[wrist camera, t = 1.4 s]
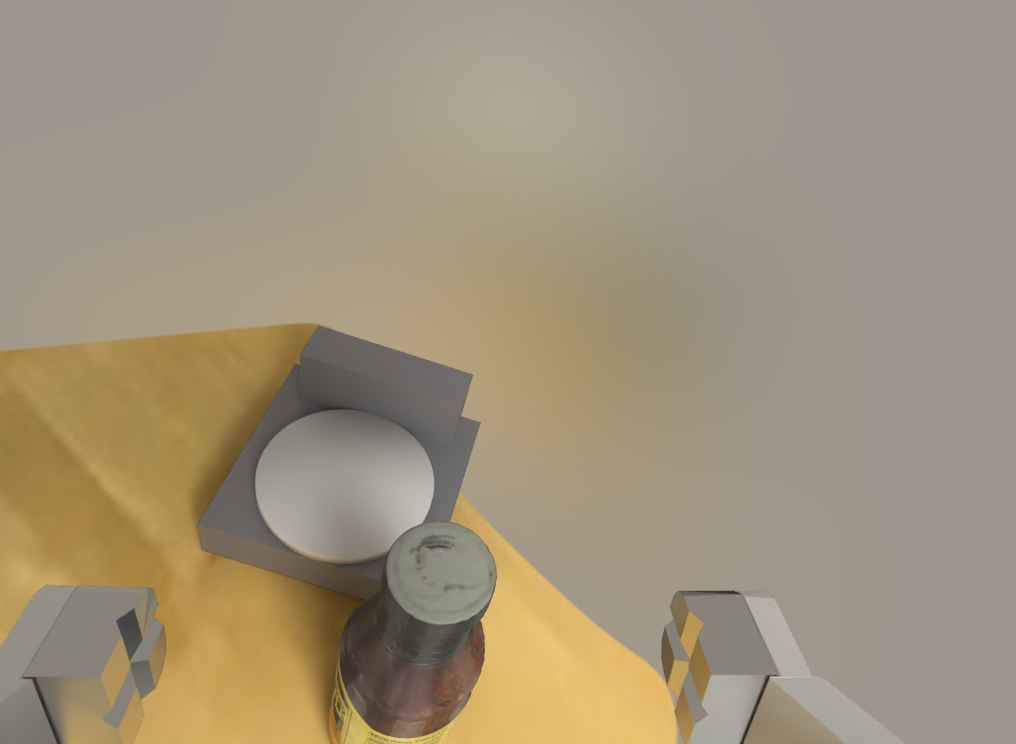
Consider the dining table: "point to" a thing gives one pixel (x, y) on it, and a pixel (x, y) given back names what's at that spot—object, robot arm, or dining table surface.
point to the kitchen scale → (344, 465)
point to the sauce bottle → (415, 640)
